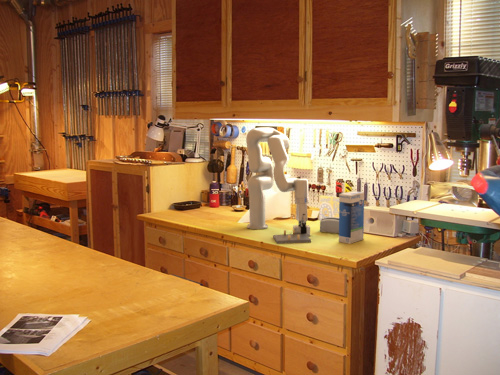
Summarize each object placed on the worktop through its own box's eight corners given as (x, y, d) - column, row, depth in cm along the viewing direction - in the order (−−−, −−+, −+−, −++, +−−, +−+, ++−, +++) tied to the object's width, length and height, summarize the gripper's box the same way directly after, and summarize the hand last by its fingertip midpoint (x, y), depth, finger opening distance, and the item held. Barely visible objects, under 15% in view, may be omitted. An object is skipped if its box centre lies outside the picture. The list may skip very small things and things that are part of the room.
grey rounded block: (350, 232, 293) (348, 216, 289) (347, 236, 290) (346, 221, 285) (322, 229, 301) (320, 214, 296) (319, 233, 297) (317, 218, 293)
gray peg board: (273, 237, 282) (273, 230, 281) (305, 236, 284) (305, 229, 283) (277, 243, 268) (277, 236, 267) (310, 242, 270) (310, 234, 269)
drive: (293, 236, 284) (293, 227, 284) (293, 234, 290) (293, 225, 289) (310, 236, 284) (310, 227, 284) (309, 233, 290) (309, 225, 289)
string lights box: (352, 237, 280) (353, 190, 276) (364, 239, 274) (365, 192, 271) (338, 241, 270) (338, 193, 267) (350, 244, 265) (351, 195, 262)
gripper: (292, 199, 293) (293, 229, 295) (297, 203, 276) (298, 235, 278) (305, 198, 294) (306, 229, 296) (311, 202, 277) (312, 235, 279)
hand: (302, 232), depth 287 cm, fingers open, 6 cm apart
